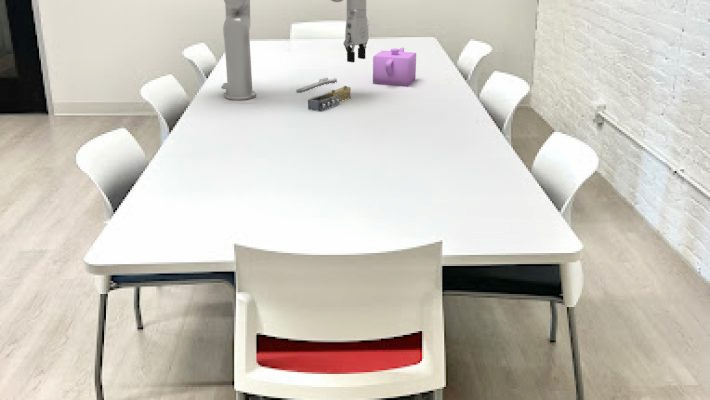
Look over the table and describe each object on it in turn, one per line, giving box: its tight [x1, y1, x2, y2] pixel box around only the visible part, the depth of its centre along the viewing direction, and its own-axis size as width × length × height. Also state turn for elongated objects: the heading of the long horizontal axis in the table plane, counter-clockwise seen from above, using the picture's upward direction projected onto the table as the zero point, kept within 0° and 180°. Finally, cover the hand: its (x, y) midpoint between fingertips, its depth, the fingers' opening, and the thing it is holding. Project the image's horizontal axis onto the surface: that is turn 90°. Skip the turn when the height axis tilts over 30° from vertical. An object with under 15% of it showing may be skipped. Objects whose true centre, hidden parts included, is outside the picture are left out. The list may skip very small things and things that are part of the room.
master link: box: [327, 85, 352, 102], centre depth 289 cm, size 2×12×5 cm, turn 147°
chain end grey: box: [318, 92, 341, 108], centre depth 284 cm, size 7×5×4 cm
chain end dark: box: [307, 95, 331, 112], centre depth 280 cm, size 7×6×4 cm
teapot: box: [372, 47, 417, 87], centre depth 318 cm, size 15×25×14 cm, turn 162°
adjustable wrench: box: [296, 77, 338, 94], centre depth 312 cm, size 25×6×2 cm, turn 143°
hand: (356, 59), depth 294 cm, fingers open, 6 cm apart
